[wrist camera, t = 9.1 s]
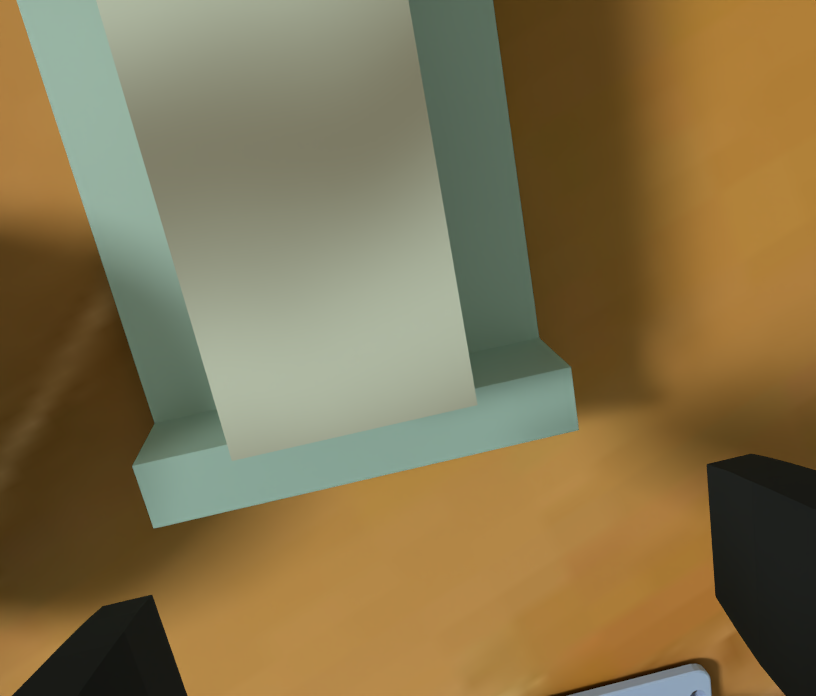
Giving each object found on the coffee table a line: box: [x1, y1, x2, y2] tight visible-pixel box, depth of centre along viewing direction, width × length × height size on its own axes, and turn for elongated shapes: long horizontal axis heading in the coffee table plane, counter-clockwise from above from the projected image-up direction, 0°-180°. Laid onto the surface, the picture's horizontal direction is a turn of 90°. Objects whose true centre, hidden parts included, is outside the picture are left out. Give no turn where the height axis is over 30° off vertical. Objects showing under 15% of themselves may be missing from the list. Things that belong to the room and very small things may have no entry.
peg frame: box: [17, 0, 579, 528], centre depth 16 cm, size 16×10×3 cm, turn 11°
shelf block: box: [96, 0, 478, 461], centre depth 13 cm, size 10×4×4 cm, turn 11°
